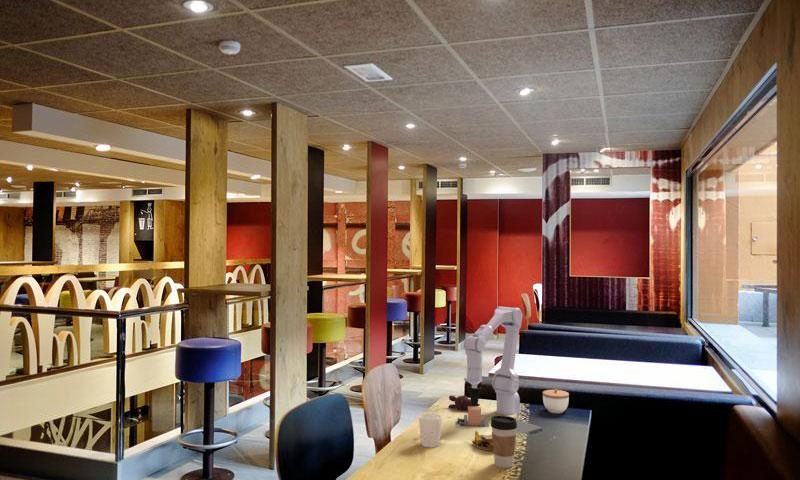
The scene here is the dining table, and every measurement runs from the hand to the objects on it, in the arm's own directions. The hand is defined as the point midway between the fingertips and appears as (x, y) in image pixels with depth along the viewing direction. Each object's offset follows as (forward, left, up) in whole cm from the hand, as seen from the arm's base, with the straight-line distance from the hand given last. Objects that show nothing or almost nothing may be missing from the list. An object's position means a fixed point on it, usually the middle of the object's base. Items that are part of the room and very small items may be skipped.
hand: (474, 402), depth 233 cm
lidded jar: (-41, +7, -9) cm, 43 cm away
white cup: (+27, +5, -9) cm, 29 cm away
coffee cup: (+21, +34, -9) cm, 41 cm away
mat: (-11, +14, -9) cm, 20 cm away
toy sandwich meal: (+11, +19, -10) cm, 24 cm away
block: (0, 0, -8) cm, 8 cm away
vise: (0, 0, -9) cm, 9 cm away
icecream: (-11, -17, -9) cm, 22 cm away
